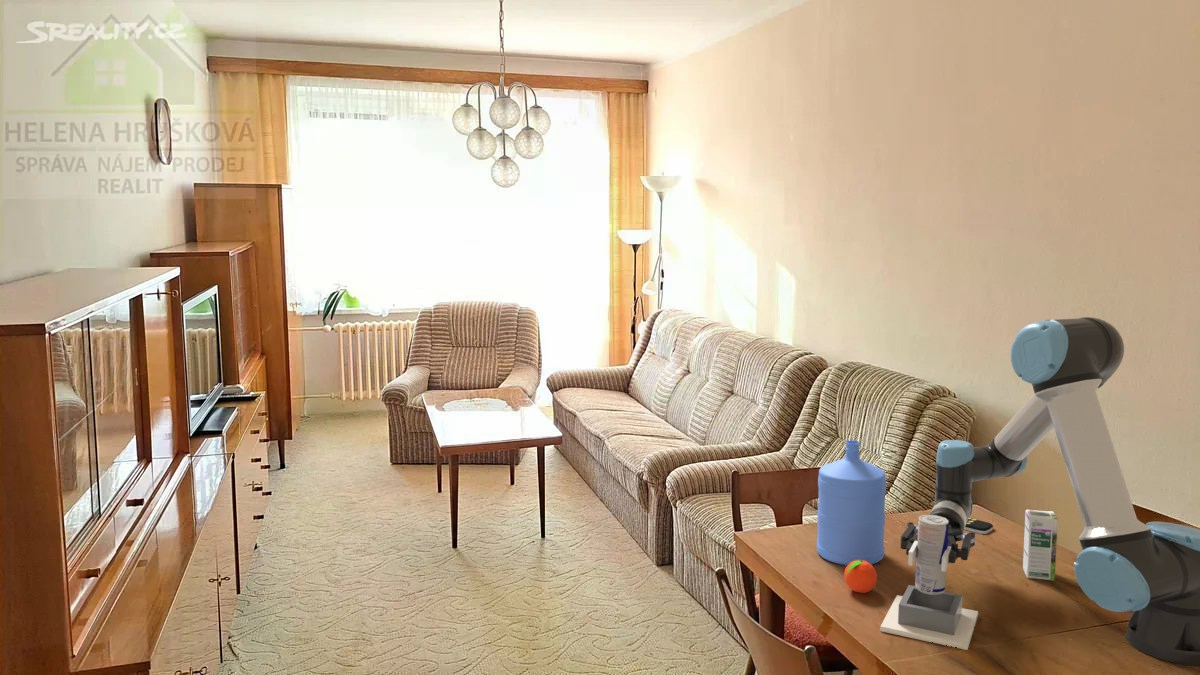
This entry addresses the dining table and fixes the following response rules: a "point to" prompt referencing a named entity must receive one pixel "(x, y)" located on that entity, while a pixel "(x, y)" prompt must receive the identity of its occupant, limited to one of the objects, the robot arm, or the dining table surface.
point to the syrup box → (1040, 544)
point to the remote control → (978, 526)
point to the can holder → (931, 618)
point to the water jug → (851, 509)
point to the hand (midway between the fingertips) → (926, 561)
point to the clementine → (860, 576)
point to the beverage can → (931, 554)
